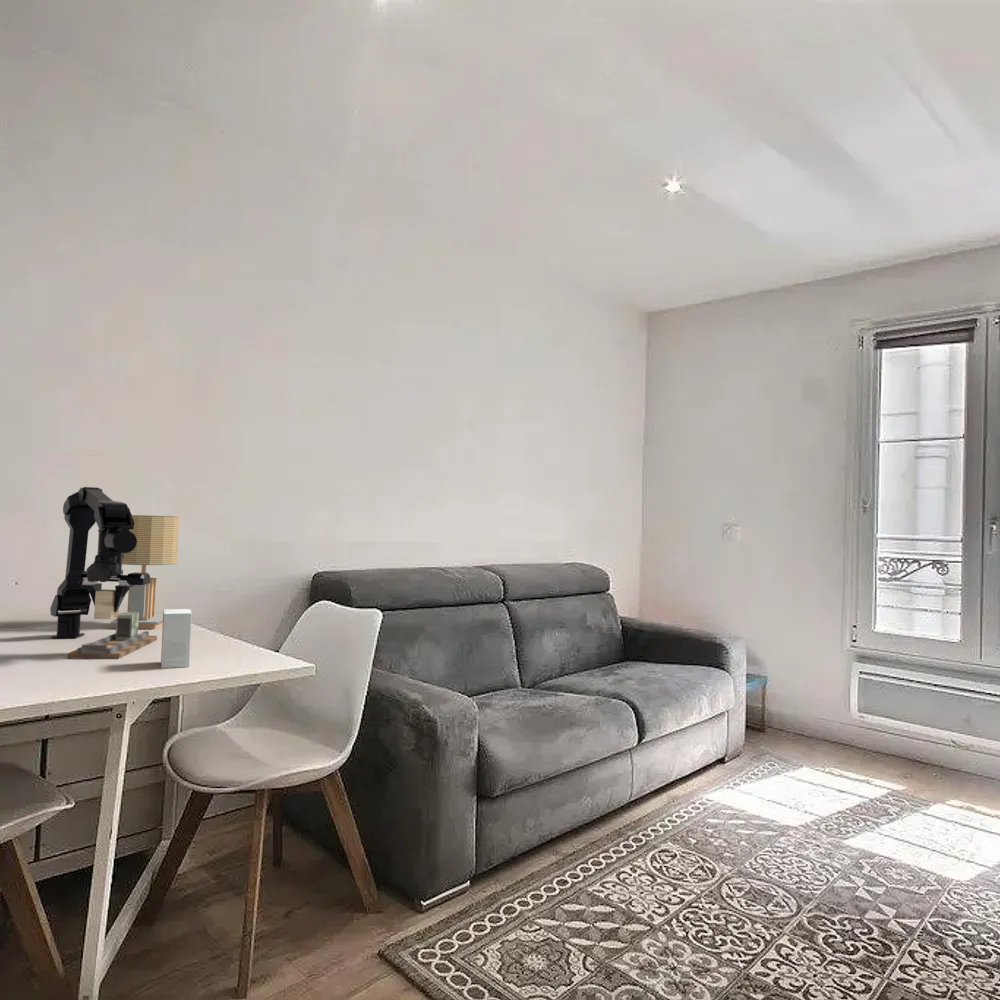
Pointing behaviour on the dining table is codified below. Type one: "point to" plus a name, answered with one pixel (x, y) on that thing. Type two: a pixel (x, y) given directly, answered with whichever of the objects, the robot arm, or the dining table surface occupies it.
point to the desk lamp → (150, 563)
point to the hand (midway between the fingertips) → (106, 611)
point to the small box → (176, 638)
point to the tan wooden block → (105, 604)
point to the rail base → (116, 640)
